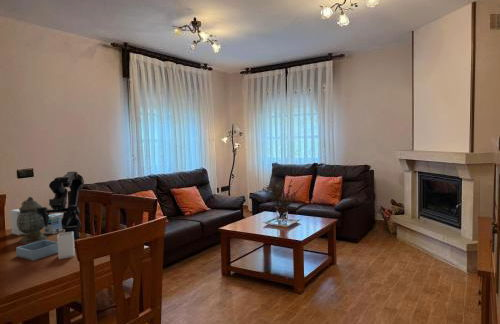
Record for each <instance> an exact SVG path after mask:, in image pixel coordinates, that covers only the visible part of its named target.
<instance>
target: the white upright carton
mask: <svg viewBox="0 0 500 324" xmlns="http://www.w3.org/2000/svg"><path fill="white" fill-rule="evenodd" d="M56 237H57V238H56V239H57V241H56V242H58V253H57V254H58V257H57V258H58V260H62V259H68V258H74V257H75V254H76V253H75V252H76V250H75V248H74V247H75V239H74V231H73V232H65V231H64V232H58V234H57V236H56Z"/></svg>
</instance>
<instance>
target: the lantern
mask: <svg viewBox="0 0 500 324" xmlns="http://www.w3.org/2000/svg"><path fill="white" fill-rule="evenodd" d="M39 207H43V206H42V205H41V204H40V203H38V202H37V201H36V200H34V199H33V197H32V196H29V197H27V199H25V200H24V201H23V202H22V203H21V207H19V208H18V209H19V210H20V214H19V216H18V218H17V227H18V229H19V230H20V231H21V232H22V233H25V234H23V237H22V238H21V239H20V240H19V243H20V244H31V243H35V242H38V241H42V240H48V239H47V238H48V236H47V235H46V234H44V233H42V232H41V231H42V230H44V226H45V223H44V219H43V218H42V217H41V216H39V215H38V214H37V213H36V211H37V209H38V208H39Z"/></svg>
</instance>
